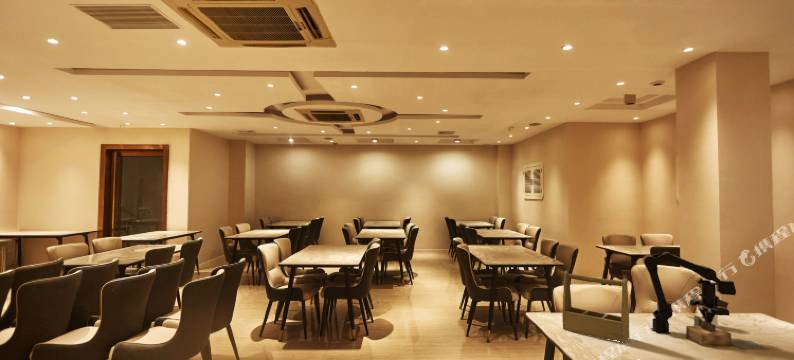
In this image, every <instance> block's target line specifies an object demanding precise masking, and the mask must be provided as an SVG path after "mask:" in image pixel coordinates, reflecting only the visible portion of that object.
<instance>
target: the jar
mask: <svg viewBox="0 0 794 360" xmlns="http://www.w3.org/2000/svg"><path fill="white" fill-rule="evenodd" d="M698 308H699V305H697V307H696V315H697V316H700V317H702V316H703V315H702V314H701V312H700V311H699V310H698ZM710 308H711V307H710ZM718 316H719V315H715V316H714V318H713V320H712V323H711V324H714V325H716V327H718V324H719V322H718ZM718 328H719V327H718Z"/></svg>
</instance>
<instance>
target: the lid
mask: <svg viewBox="0 0 794 360" xmlns="http://www.w3.org/2000/svg"><path fill="white" fill-rule="evenodd" d="M685 328H687V329H690V330H692V331H694V332H696V333H698V334H700V335H731V336H732V333H731V332H729V331H726V330H724V329H722V328H720V327H716V325H714V324H711V323H709V322H706V321H701V326H694V325H686V326H685Z"/></svg>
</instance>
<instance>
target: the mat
mask: <svg viewBox="0 0 794 360" xmlns="http://www.w3.org/2000/svg"><path fill="white" fill-rule="evenodd" d="M731 346H734V347H736V348H738V349H740V350H770V348H768V347H766V346H764V345H762V344H759V343H756V342H755V341H753V340H732V339H731Z"/></svg>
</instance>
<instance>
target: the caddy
mask: <svg viewBox="0 0 794 360" xmlns="http://www.w3.org/2000/svg"><path fill="white" fill-rule="evenodd" d="M570 279H571V280H575V281H576V280H577V281H581V282H587V283H588V282H589V283H597V284H602V285H609V286H615V287H616V286H617V287H621V307H620V308H621V313H620V315H616V314H611V313H604V312H601V311H600V312H599V311H596V310H595V311H594V310H591V309H590V310H589V309H584V308H580V307H575V306H572V294H571V283H570V281H571V280H570ZM562 289H563V292H562V293H563V294H562V312H561V313H562V318H561V319H562V330H565V331H567V330H568V332H572V333H576V334H581V335H584V336H585V335H586V336H589V335H590V337H593V336H594V338H597V337H599V338H598V339H602V338H603V340H606V339H610V340H617V341H620V342H623V343H624V344H626V342H627V341H628V340H629V339H630V311H629V310H630V309H629V308H630V307H629V291H628V289H629V288H628V279H627V278H623V279H622V280H616V279H610V278H609V279H608V278H603V277H602V278H599V277H592V276H587V275H581V274H575V273H570V272H569V271H567V270H565V271H564V274H563V288H562ZM628 338H629V339H628ZM627 339H628V340H627ZM610 340H609V341H610ZM626 340H627V341H626ZM623 343H622V344H623Z"/></svg>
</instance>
